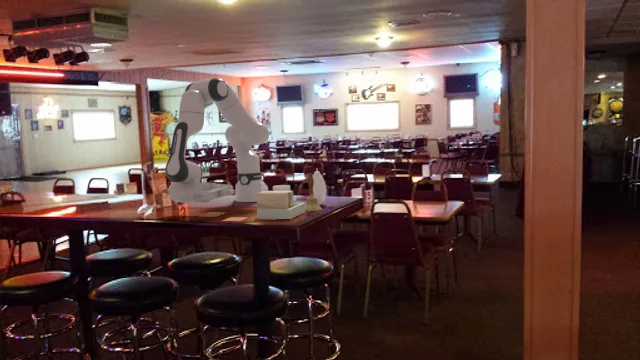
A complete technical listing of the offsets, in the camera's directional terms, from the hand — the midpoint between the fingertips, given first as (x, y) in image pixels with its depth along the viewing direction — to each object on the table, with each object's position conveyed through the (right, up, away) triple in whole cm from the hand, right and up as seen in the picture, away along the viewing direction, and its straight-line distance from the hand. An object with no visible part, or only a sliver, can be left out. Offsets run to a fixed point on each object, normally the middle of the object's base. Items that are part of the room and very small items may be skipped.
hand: (232, 192), depth 235 cm
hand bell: (+34, -8, +6) cm, 35 cm away
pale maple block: (+19, -10, -6) cm, 22 cm away
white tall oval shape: (+36, -7, +21) cm, 43 cm away
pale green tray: (+21, -10, -6) cm, 24 cm away
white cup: (+20, -8, +16) cm, 27 cm away
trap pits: (-3, -10, -4) cm, 11 cm away
